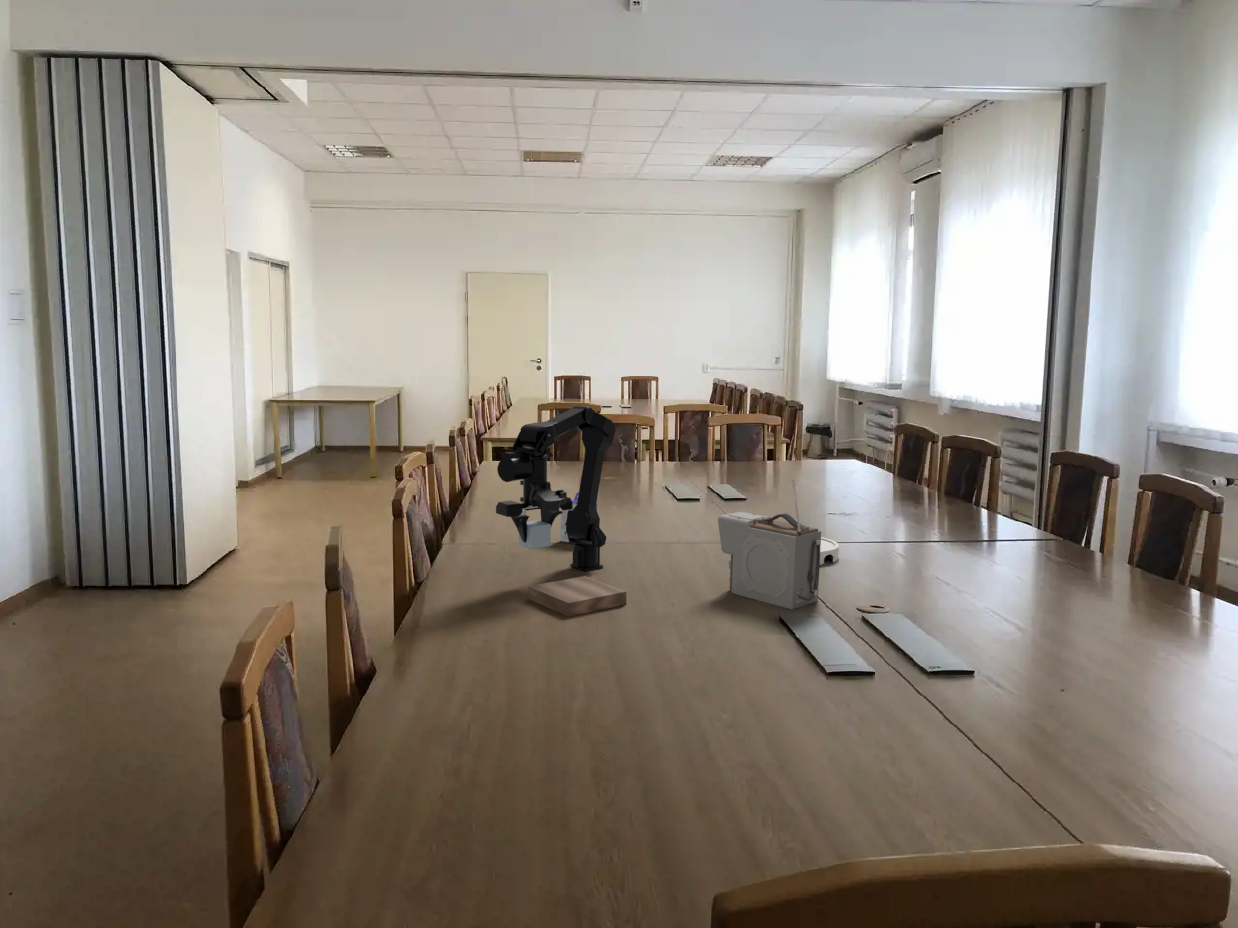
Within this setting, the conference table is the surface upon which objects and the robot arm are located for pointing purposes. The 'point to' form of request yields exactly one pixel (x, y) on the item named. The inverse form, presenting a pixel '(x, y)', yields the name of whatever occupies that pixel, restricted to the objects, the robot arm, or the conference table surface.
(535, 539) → the slate cube
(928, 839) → the conference table surface
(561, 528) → the ink cartridge box
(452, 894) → the conference table surface
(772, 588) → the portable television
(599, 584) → the walnut base
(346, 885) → the conference table surface
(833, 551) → the ashtray
